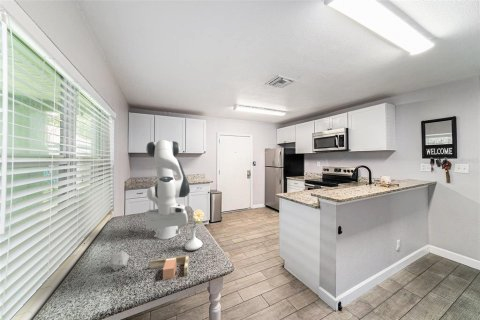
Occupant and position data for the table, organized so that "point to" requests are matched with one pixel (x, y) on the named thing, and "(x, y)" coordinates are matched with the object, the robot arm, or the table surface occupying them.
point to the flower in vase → (194, 242)
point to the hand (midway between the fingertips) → (167, 234)
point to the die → (118, 260)
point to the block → (169, 268)
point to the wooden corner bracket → (179, 260)
